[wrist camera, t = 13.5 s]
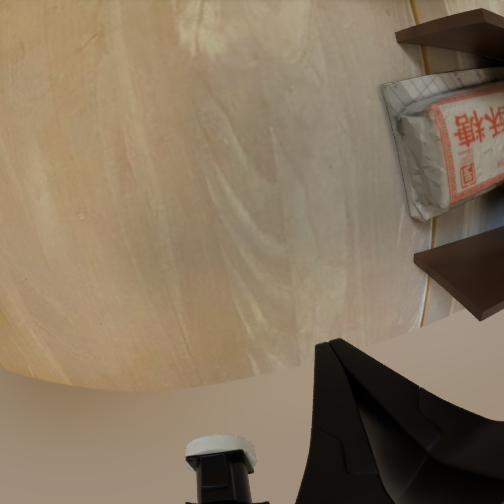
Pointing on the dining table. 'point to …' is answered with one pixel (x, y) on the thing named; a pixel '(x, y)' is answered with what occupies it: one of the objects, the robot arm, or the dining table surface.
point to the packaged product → (448, 137)
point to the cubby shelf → (488, 243)
